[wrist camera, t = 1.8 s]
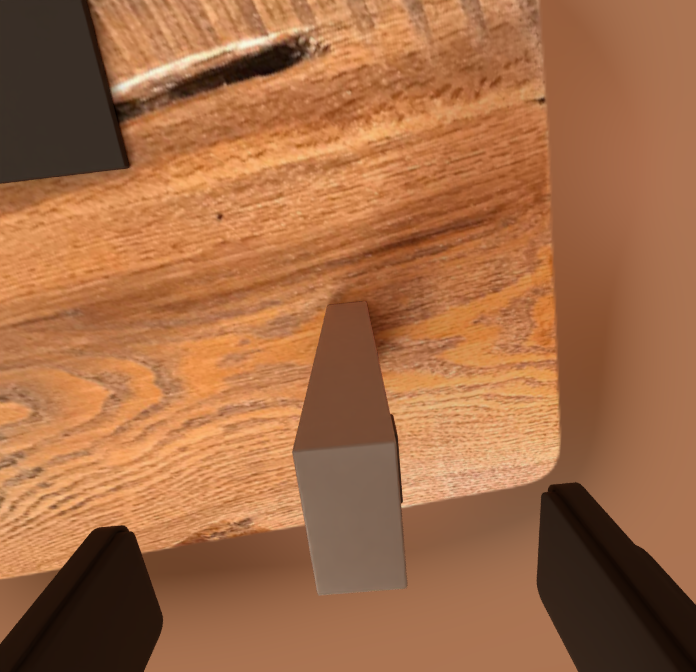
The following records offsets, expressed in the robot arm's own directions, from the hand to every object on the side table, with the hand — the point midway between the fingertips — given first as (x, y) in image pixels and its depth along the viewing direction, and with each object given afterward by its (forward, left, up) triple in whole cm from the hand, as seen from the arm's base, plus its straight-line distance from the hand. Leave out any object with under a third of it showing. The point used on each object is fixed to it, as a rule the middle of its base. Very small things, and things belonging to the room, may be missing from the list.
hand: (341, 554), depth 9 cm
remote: (0, 0, -16) cm, 16 cm away
